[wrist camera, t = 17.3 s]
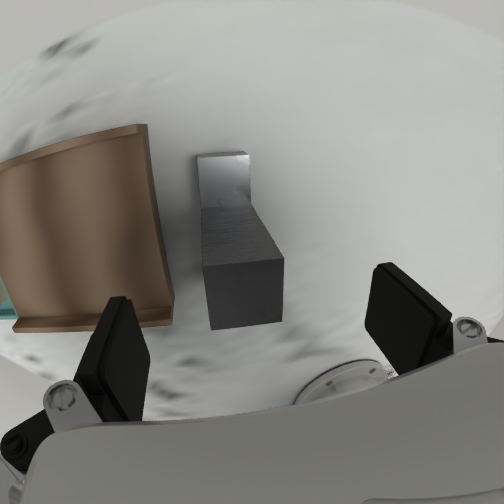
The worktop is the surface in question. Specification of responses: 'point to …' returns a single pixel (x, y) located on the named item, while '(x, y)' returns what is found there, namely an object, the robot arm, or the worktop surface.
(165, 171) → the worktop surface
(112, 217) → the walnut channel
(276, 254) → the grey stepped block
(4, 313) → the teal tray
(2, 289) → the oak block
